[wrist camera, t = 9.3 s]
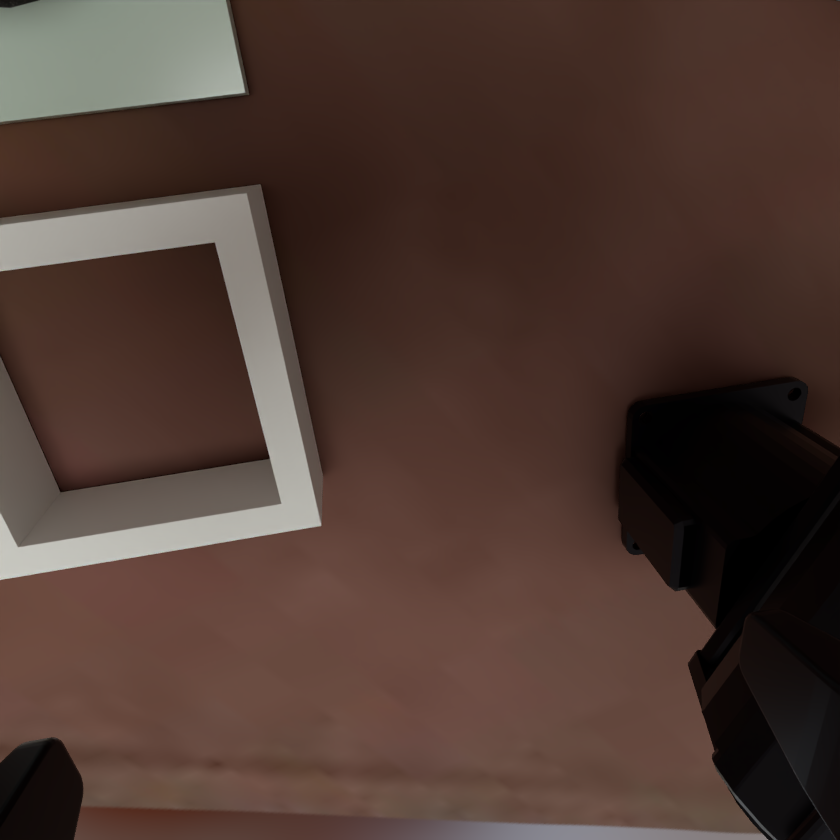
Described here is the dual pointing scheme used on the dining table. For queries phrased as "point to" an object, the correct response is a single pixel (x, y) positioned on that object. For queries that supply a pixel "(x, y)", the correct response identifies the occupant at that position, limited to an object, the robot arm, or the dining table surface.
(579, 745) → the dining table surface
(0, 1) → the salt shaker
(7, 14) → the green tile
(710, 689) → the robot arm
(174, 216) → the shaker holder
